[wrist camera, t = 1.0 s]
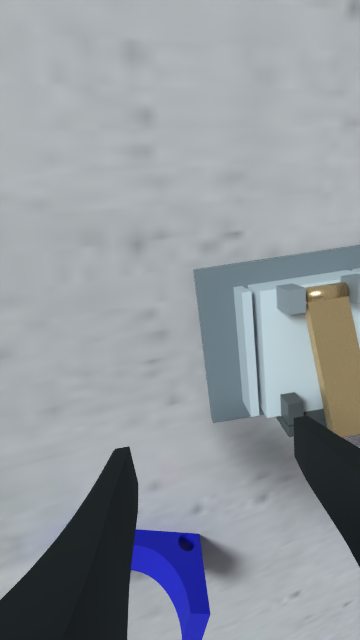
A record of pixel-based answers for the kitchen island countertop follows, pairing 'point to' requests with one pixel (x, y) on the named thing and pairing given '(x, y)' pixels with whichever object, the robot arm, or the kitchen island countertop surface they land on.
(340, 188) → the kitchen island countertop surface
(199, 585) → the blue half clamp bracket
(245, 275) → the heat-sink board
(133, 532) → the robot arm
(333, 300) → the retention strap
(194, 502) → the kitchen island countertop surface
